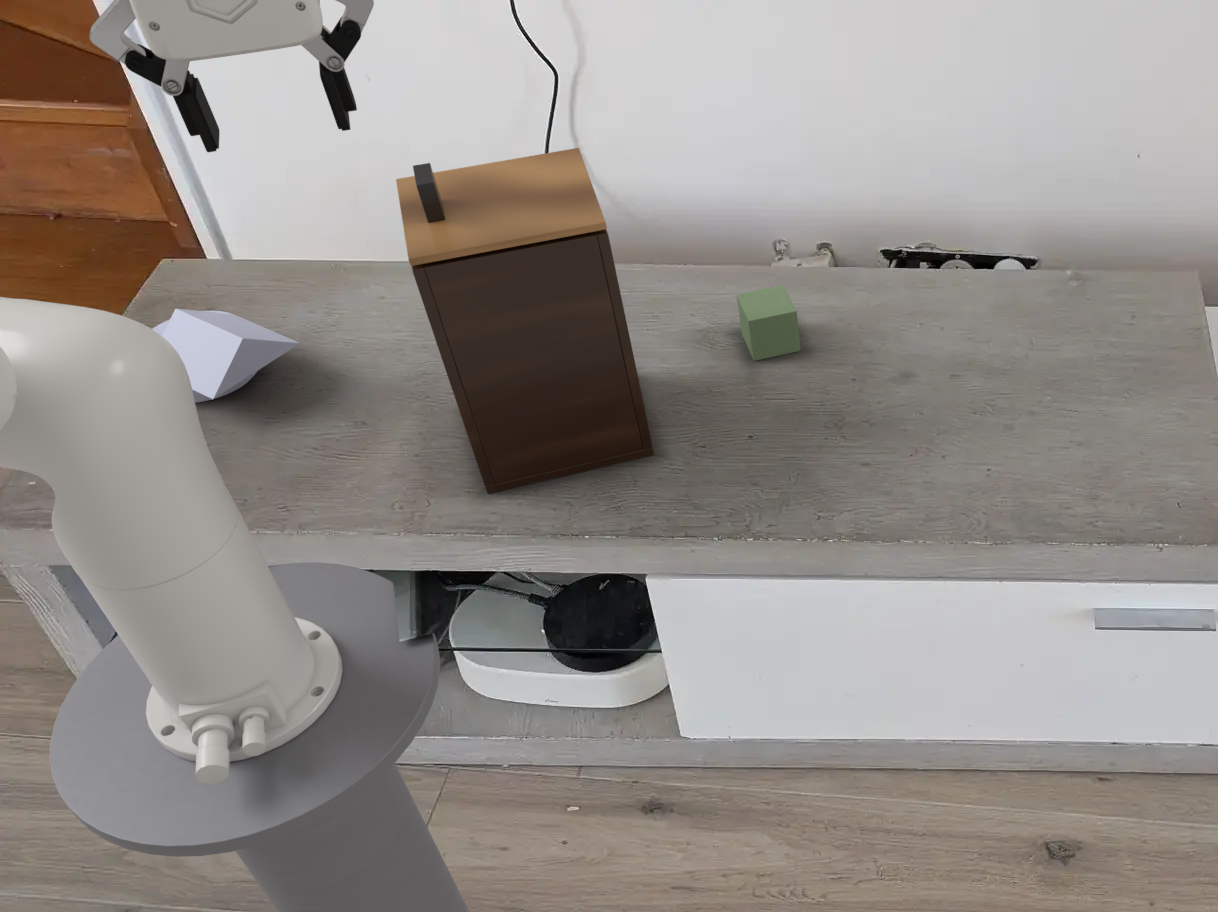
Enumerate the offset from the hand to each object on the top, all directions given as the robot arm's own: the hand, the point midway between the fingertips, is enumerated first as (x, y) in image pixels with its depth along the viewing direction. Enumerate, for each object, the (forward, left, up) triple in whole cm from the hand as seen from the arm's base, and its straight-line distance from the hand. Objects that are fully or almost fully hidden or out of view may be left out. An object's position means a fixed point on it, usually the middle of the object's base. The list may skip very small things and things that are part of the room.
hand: (279, 130), depth 88 cm
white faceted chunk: (+18, +15, -30) cm, 38 cm away
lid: (0, -12, -8) cm, 15 cm away
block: (+6, -33, -30) cm, 45 cm away
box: (0, -12, -30) cm, 32 cm away
